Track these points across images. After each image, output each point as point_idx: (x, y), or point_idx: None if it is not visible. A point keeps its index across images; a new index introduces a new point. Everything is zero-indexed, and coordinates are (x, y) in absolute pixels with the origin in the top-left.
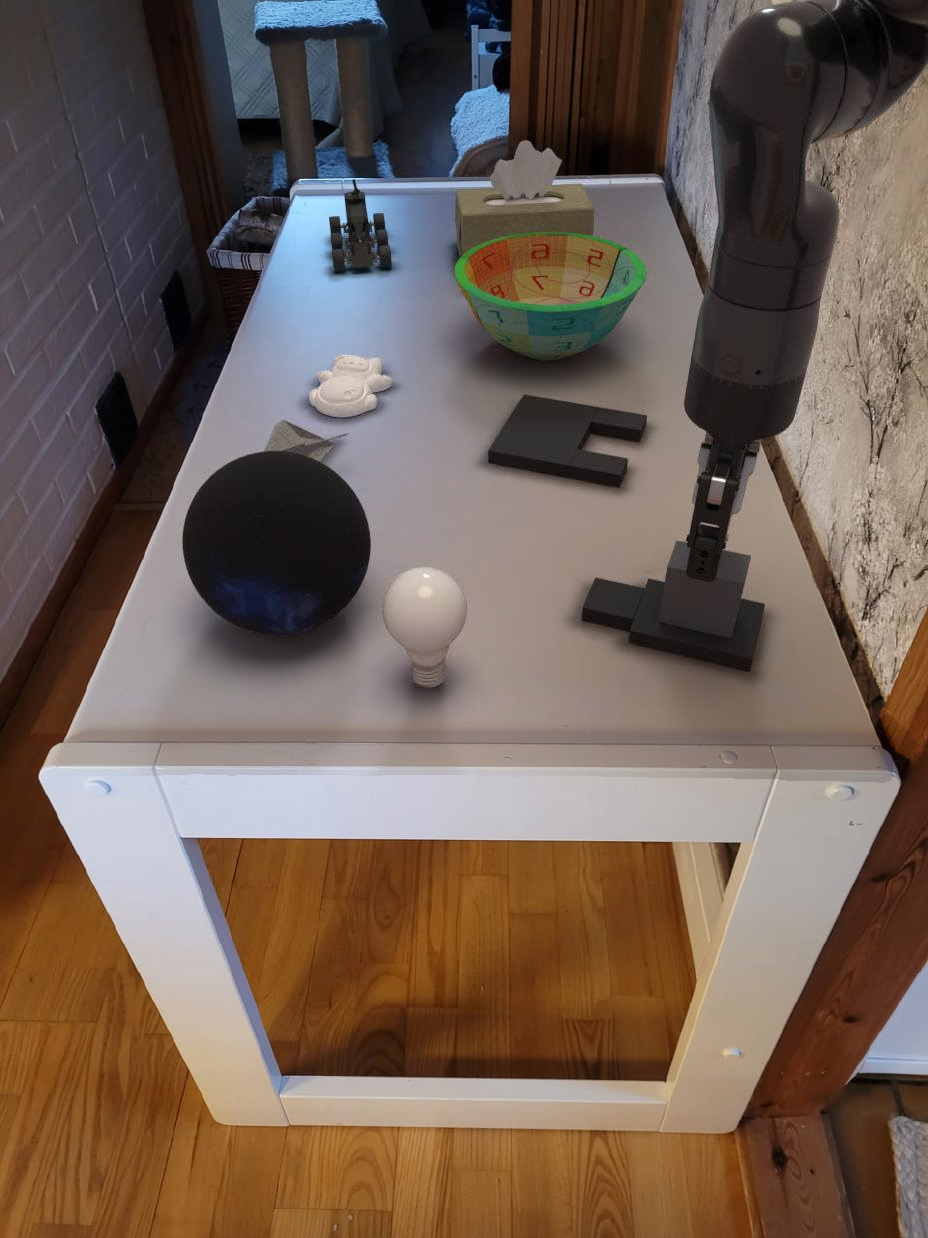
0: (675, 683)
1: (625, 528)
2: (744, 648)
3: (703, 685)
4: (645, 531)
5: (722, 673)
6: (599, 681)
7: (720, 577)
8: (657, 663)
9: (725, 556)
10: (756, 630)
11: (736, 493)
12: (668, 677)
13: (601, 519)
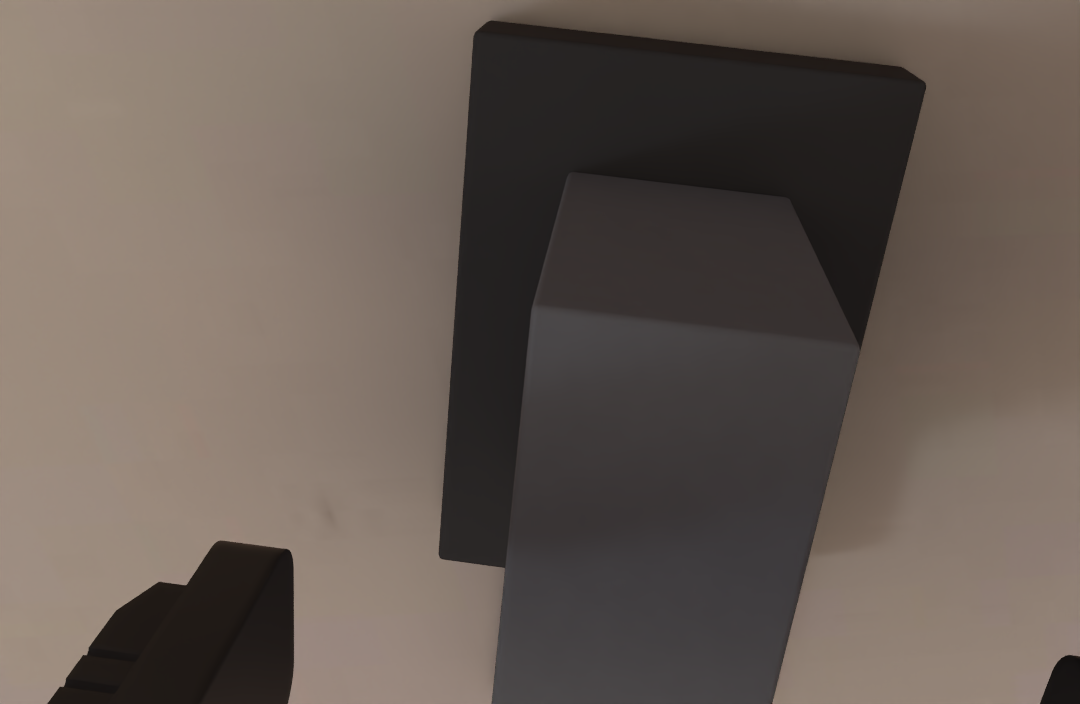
0: (1007, 380)
1: (85, 610)
2: (850, 128)
3: (1011, 269)
4: (70, 541)
5: (925, 191)
6: (1015, 638)
7: (823, 493)
8: (890, 453)
9: (585, 464)
10: (706, 72)
11: (205, 695)
12: (972, 408)
13: None
